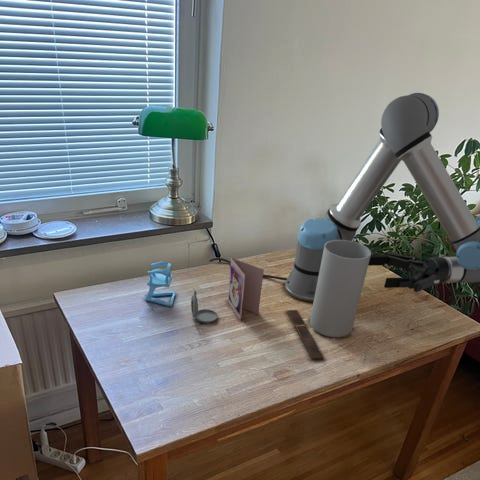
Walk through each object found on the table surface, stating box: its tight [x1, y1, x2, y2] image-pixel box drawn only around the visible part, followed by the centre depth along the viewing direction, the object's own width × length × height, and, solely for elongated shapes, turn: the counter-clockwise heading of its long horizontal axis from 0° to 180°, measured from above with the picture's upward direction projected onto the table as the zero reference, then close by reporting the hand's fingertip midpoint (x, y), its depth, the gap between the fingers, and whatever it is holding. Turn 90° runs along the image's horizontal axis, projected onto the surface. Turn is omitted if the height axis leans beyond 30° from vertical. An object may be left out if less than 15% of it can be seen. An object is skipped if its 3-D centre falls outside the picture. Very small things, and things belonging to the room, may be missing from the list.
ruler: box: [286, 309, 324, 361], centre depth 135 cm, size 24×3×1 cm, turn 11°
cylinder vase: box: [309, 240, 372, 338], centre depth 133 cm, size 12×12×25 cm
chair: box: [145, 261, 176, 307], centre depth 142 cm, size 8×8×12 cm
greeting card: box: [227, 257, 265, 321], centre depth 140 cm, size 11×7×15 cm, turn 21°
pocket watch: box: [190, 287, 218, 324], centre depth 136 cm, size 8×8×10 cm
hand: (374, 271), depth 132 cm, fingers open, 13 cm apart
